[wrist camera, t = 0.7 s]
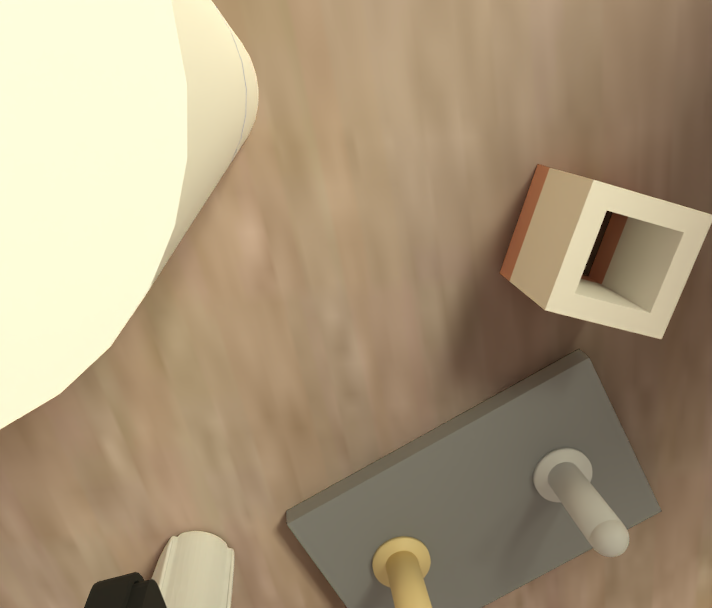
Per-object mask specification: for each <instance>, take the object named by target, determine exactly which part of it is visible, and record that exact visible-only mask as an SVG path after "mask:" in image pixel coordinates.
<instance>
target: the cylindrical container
mask: <svg viewBox="0 0 712 608" xmlns="http://www.w3.org/2000/svg"><path fill="white" fill-rule="evenodd" d="M258 93H259V90H258V83H257V77H256V72H255V70H254V67H253V64H252V61H251V58H250V56H249V55H248V53H247V51H246V49H245V48H244V46H243V44H242V43H241V41H240V40H239V38H238V37H237V36H236V34H235V33H234V32H233V30H232V29H231V28H230V26H229V25H228V23H227V22H226V20H225V19H224V18H223V16H222V15H221V13H220V12H219V10H218V9H217V7H216V6H215V5H214V3H213V2H212V1H211V0H0V429H1V428H3V427H5V426H7V425H8V424H10V423H12V422H13V421H15V420H17V419H18V418H20V417H22V416H23V415H25V414H27V413H29V412H30V411H32V410H34V409H35V408H37V407H39V406H40V405H42V404H44V403H45V402H47V401H49V400H50V399H52V398H54V397H56V396H57V395H59V394H60V393H61V392H62V391H63V390H64V389H66V388H67V387H68V386H69V385H70V384H71V383H72V382H73V381H74V380H75V379H76V378H77V377H78V376H79V375H81V374H82V373H83V372H84V371H85V370H86V369H87V368H88V367H89V366H90V365H91V364H92V363H93V362H94V361H96V360H97V359H98V358H99V357H100V356H101V355H102V354H103V353H104V352H105V351H106V350H107V349H108V348H110V346H111V345H112V344H113V342H114V341H115V339H116V338H117V336H118V335H119V333H120V332H121V330H122V329H123V327H124V326H125V324H126V323H127V322H128V320H129V319H130V317H131V316H132V314H133V313H134V311H135V310H136V308H137V307H138V305H139V304H140V303H141V301H142V300H143V298H144V297H145V295H146V294H147V292H148V291H149V289H150V288H151V286H152V285H153V283H154V282H155V280H156V278H157V277H158V275H159V274H160V272H161V271H162V269H163V268H164V266H165V264H166V263H167V261H168V260H169V258H170V257H171V255H172V254H173V252H174V250H175V249H176V247H177V246H178V244H179V243H180V241H181V240H182V238H183V236H184V235H185V233H186V232H187V230H188V229H189V227H190V226H191V224H192V222H193V221H194V219H195V218H196V216H197V215H198V213H199V212H200V210H201V209H202V207H203V205H204V204H205V202H206V201H207V199H208V198H209V196H210V195H211V193H212V191H213V190H214V188H215V187H216V185H217V184H218V182H219V181H220V179H221V177H222V176H223V174H224V173H225V171H226V170H227V168H228V167H229V165H230V163H231V162H232V160H233V159H234V157H235V156H236V154H237V153H238V151H239V149H240V148H241V146H242V145H243V143H244V142H245V140H246V139H247V137H248V135H249V134H250V131H251V129H252V126H253V124H254V122H255V118H256V113H257V109H258Z"/></svg>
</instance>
